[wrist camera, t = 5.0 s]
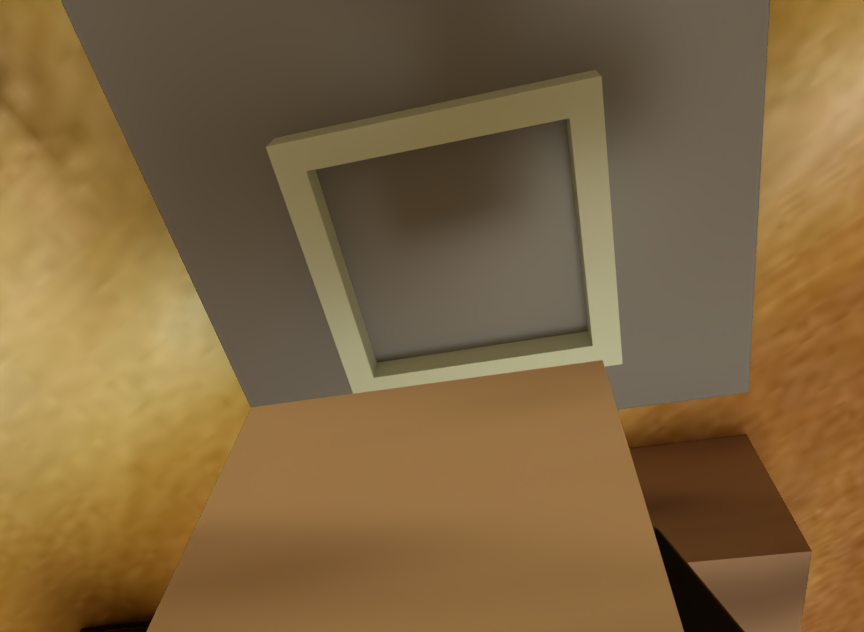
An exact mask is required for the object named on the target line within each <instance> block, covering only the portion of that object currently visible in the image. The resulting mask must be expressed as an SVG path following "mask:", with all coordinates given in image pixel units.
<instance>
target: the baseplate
mask: <svg viewBox="0 0 864 632" xmlns="http://www.w3.org/2000/svg"><path fill="white" fill-rule="evenodd" d="M61 2H62V4H63V6H64V8H65V10H66V12H67V15H68V17H69V19H70V21H71V23H72V25H73V27H74V30H75V32H76V34H77V36H78V38H79V40H80V42H81V45H82V47H83V49H84V51H85V53H86V55H87V57H88V60H89V62H90V64H91V66H92V68H93V70H94V72H95V75H96V77H97V79H98V81H99V83H100V85H101V87H102V90H103V92H104V94H105V96H106V98H107V100H108V102H109V105H110V107H111V109H112V111H113V113H114V115H115V117H116V120H117V122H118V124H119V126H120V128H121V130H122V132H123V135H124V137H125V139H126V141H127V143H128V145H129V147H130V150H131V152H132V154H133V156H134V158H135V160H136V162H137V165H138V167H139V169H140V171H141V173H142V175H143V177H144V180H145V182H146V184H147V186H148V188H149V190H150V192H151V195H152V197H153V199H154V201H155V203H156V205H157V207H158V210H159V212H160V214H161V216H162V218H163V220H164V222H165V225H166V227H167V229H168V231H169V233H170V235H171V237H172V240H173V242H174V244H175V246H176V248H177V250H178V252H179V255H180V257H181V259H182V261H183V263H184V265H185V267H186V269H187V272H188V274H189V276H190V278H191V280H192V282H193V284H194V287H195V289H196V291H197V293H198V295H199V297H200V299H201V302H202V304H203V306H204V308H205V310H206V312H207V314H208V317H209V319H210V321H211V323H212V325H213V327H214V329H215V332H216V334H217V336H218V338H219V340H220V342H221V344H222V347H223V349H224V351H225V353H226V355H227V357H228V359H229V362H230V364H231V366H232V368H233V370H234V372H235V374H236V377H237V379H238V381H239V383H240V385H241V387H242V389H243V392H244V394H245V396H246V398H247V400H248V402H249V404H250V407H258V406H266V405H273V404H280V403H288V402H295V401H303V400H310V399H317V398H325V397H332V396H340V395H347V394H355V393H362V392H369V391H377V390H384V389H392V388H399V387H406V386H414V385H421V384H429V383H436V382H443V381H451V380H458V379H466V378H473V377H480V376H488V375H495V374H503V373H510V372H517V371H525V370H532V369H540V368H547V367H555V366H562V365H569V364H577V363H584V362H592V361H599V360H603V363H604V367H605V370H606V373H607V377H608V380H609V383H610V387H611V390H612V393H613V397H614V400H615V403H616V407H617V410H618V409H626V408H633V407H641V406H649V405H657V404H664V403H672V402H680V401H687V400H695V399H703V398H711V397H718V396H726V395H734V394H742V393H749V374H750V356H751V337H752V319H753V301H754V282H755V264H756V246H757V227H758V209H759V191H760V172H761V154H762V136H763V117H764V99H765V81H766V62H767V44H768V26H769V7H770V0H61Z"/></svg>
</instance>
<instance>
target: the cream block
mask: <svg viewBox="0 0 864 632" xmlns="http://www.w3.org/2000/svg"><path fill="white" fill-rule="evenodd" d="M146 632H684V630H683V627H682V623H681V620H680V617H679V613H678V610H677V607H676V603H675V600H674V597H673V593H672V590H671V587H670V583H669V580H668V577H667V573H666V570H665V567H664V563H663V560H662V557H661V553H660V550H659V547H658V543H657V540H656V537H655V533H654V530H653V527H652V523H651V520H650V517H649V513H648V510H647V507H646V503H645V500H644V497H643V493H642V490H641V487H640V483H639V480H638V477H637V473H636V470H635V467H634V463H633V460H632V457H631V453H630V450H629V447H628V443H627V440H626V437H625V433H624V430H623V427H622V423H621V420H620V417H619V413H618V410H617V407H616V403H615V400H614V397H613V393H612V390H611V387H610V383H609V380H608V377H607V373H606V370H605V367H604V363H603V360H599V361H592V362H584V363H577V364H569V365H562V366H555V367H547V368H540V369H532V370H525V371H517V372H510V373H503V374H495V375H488V376H480V377H473V378H466V379H458V380H451V381H443V382H436V383H429V384H421V385H414V386H406V387H399V388H392V389H384V390H377V391H369V392H362V393H355V394H347V395H340V396H332V397H325V398H317V399H310V400H303V401H295V402H288V403H280V404H273V405H266V406H258V407H251V410H250V412H249V414H248V416H247V418H246V420H245V422H244V424H243V427H242V429H241V431H240V433H239V435H238V437H237V439H236V442H235V444H234V446H233V448H232V450H231V452H230V454H229V456H228V459H227V461H226V463H225V465H224V467H223V469H222V471H221V474H220V476H219V478H218V480H217V482H216V484H215V486H214V488H213V491H212V493H211V495H210V497H209V499H208V501H207V503H206V506H205V508H204V510H203V512H202V514H201V516H200V518H199V520H198V523H197V525H196V527H195V529H194V531H193V533H192V535H191V538H190V540H189V542H188V544H187V546H186V548H185V550H184V552H183V555H182V557H181V559H180V561H179V563H178V565H177V567H176V570H175V572H174V574H173V576H172V578H171V580H170V582H169V584H168V587H167V589H166V591H165V593H164V595H163V597H162V599H161V602H160V604H159V606H158V608H157V610H156V612H155V614H154V616H153V619H152V621H151V623H150V625H149V627H148V629H147V631H146Z"/></svg>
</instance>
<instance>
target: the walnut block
mask: <svg viewBox="0 0 864 632" xmlns="http://www.w3.org/2000/svg"><path fill="white" fill-rule="evenodd" d="M629 450H630V453H631V457H632V460H633V463H634V467H635V470H636V473H637V477H638V480H639V483H640V487H641V490H642V493H643V497H644V500H645V503H646V507H647V510H648V513H649V517H650V520H651V523H652V526H655V527H657V528H658V529H659V530H660V531H661V532H662V533H663V534H664V535H665V536H666V538H667V539H668V540H669V541H670V542H671V544H672V545H673V546H674V547H675V548H676V550H677V551H678V552H679V553H680V554H681V556H682V557H683V558H684V559H685V561H686V562H687V563H688V564H689V565H690V567H691V568H692V569H693V570H694V571H695V573H696V574H697V575H698V576H699V577H700V579H701V580H702V581H703V582H704V583H705V585H706V586H707V587H708V588H709V589H710V591H711V592H712V593H713V594H714V595H715V597H716V598H717V599H718V600H719V601H720V603H721V604H722V605H723V606H724V607H725V609H726V610H727V611H728V612H729V613H730V615H731V616H732V617H733V618H734V619H735V621H736V622H737V623H738V624H739V625H740V627H741V628H742V629H743V630H744V631H745V632H800V629H801V622H802V615H803V608H804V601H805V595H806V588H807V581H808V574H809V567H810V560H811V553H812V551H811V549H810V547H809V546H808V544H807V542H806V540H805V538H804V537H803V535H802V533H801V531H800V530H799V528H798V526H797V524H796V522H795V521H794V519H793V517H792V515H791V513H790V512H789V510H788V508H787V506H786V505H785V503H784V501H783V499H782V497H781V496H780V494H779V492H778V490H777V488H776V487H775V485H774V483H773V481H772V480H771V478H770V476H769V474H768V472H767V471H766V469H765V467H764V465H763V463H762V462H761V460H760V458H759V456H758V455H757V453H756V451H755V449H754V447H753V446H752V444H751V442H750V440H749V438H748V437H747V435H738V436H729V437H721V438H713V439H704V440H696V441H688V442H679V443H671V444H662V445H654V446H646V447H637V448H629Z"/></svg>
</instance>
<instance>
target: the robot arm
mask: <svg viewBox="0 0 864 632" xmlns="http://www.w3.org/2000/svg"><path fill="white" fill-rule="evenodd" d="M652 527H653V530H654V533H655V537H656V540H657V543H658V547H659V550H660V553H661V557H662V560H663V563H664V567H665V570H666V573H667V577H668V580H669V583H670V587H671V590H672V593H673V597H674V600H675V603H676V607H677V610H678V613H679V617H680V620H681V623H682V627H683V630H684V632H745V631H744V630H743V629H742V628H741V627H740V625H739V624H738V623H737V622H736V621H735V619H734V618H733V617H732V616H731V615H730V613H729V612H728V611H727V610H726V609H725V607H724V606H723V605H722V604H721V603H720V601H719V600H718V599H717V598H716V597H715V595H714V594H713V593H712V592H711V591H710V589H709V588H708V587H707V586H706V585H705V583H704V582H703V581H702V580H701V579H700V577H699V576H698V575H697V574H696V573H695V571H694V570H693V569H692V568H691V567H690V565H689V564H688V563H687V562H686V561H685V559H684V558H683V557H682V556H681V554H680V553H679V552H678V551H677V550H676V548H675V547H674V546H673V545H672V544H671V542H670V541H669V540H668V539H667V538H666V536H665V535H664V534H663V533H662V532H661V531H660V530H659V529H658V528H657V527H655V526H652ZM150 623H151V622H148V623H136V624H125V625H113V626H102V627H91V628H83V629H81V630H80V631H79V632H146V631H147V629H148V627H149V625H150Z"/></svg>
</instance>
